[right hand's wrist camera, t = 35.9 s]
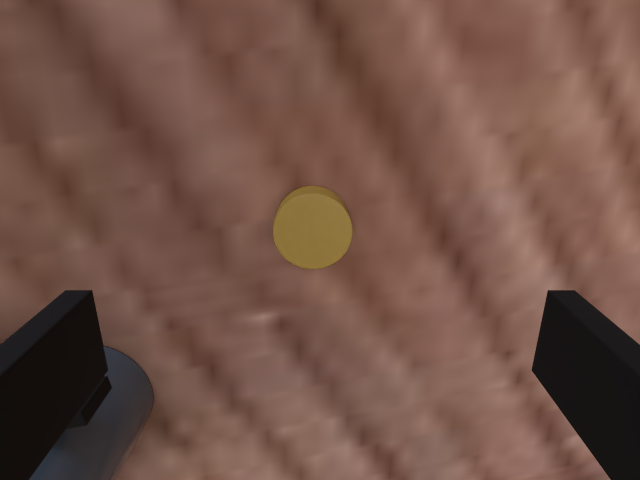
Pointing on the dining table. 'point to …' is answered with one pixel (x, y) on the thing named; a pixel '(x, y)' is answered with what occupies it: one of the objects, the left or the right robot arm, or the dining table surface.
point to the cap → (312, 227)
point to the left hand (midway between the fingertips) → (124, 464)
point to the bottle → (104, 428)
